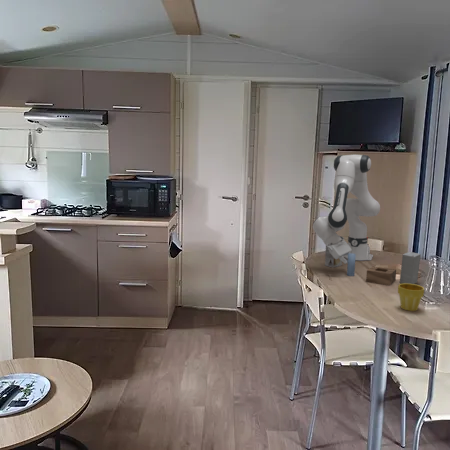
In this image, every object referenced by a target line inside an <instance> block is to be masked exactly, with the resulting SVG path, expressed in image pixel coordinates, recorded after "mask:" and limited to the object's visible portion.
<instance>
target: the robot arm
mask: <svg viewBox="0 0 450 450" xmlns="http://www.w3.org/2000/svg"><path fill="white" fill-rule="evenodd" d="M371 166H372V159H371V157H370V156H369V155H366V154H346V155H345V154H344V155H337V156H336V157H335V158H334V160H333V168H334V171H335V175H334V180H333V189H334V191H335V197H334V202H333V207H332V209H331V210H330V212H329V214H328V215H325V216H319V217H316V219H315V220H314V221H313V223H312V229H313V231H314V233H315V234H316V235H317V236H318V238H319V239H321V240H322V242H323V243H324V245H325V247H326V246H327V247H328V248H329V249H328V250H329V252H330V253H331V255H332V256H333V257H334V258H335V259H338V258H339V259H340V260H341V261H342V263H343V264H344V265H346V264H348V254H349V253H353V254H356V256H355V261H372V260H373V257H374V254H371V253H370V252H371V248H370V245H369V244H368V239H369V237H368V236H367V235H368V234H367V233H368V226H367V224H366V222H364V221H363V220H361V219H360V217H368V218H370V217H376V216H378V215H379V214H380V211H381V205H380V202H379V201H378V200H376V199H375V198H374V197H373V195H372V194H371V193H370V191H369V186H368V185H369V184H368V175H367V172H369V171H370V170H371ZM349 193H351V194H352V195H353V196H355V197H356V198H354V197H353V198H351V197H349V198H348V195H349ZM346 223H348V236H347V241H346V240H345V237H344V236H342V235H339V234H338V233H337V232H339V231H341V230H342V229H344V227H346Z"/></svg>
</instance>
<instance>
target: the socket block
mask: <svg viewBox="0 0 450 450" xmlns="http://www.w3.org/2000/svg"><path fill="white" fill-rule="evenodd" d="M396 277H397V269H395V268H388V267H381V266H372V267H370V268H368V269H367V270H366V278H365V279H366V280H365V282H366V283H373V284H376V285H377V284H378V285H385V286H388V287H389V286H391V285H392V284H394V283H395V281H396V280H397V278H396Z"/></svg>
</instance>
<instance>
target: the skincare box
mask: <svg viewBox="0 0 450 450" xmlns="http://www.w3.org/2000/svg"><path fill="white" fill-rule="evenodd" d="M421 256H422V255H421V253H417V252H413V251H408V252H405V253H403V254H402V258H401V265H400V276H399V283H400V284H403V283H408V284H417V283H418V280H419V271H420V264H421V263H420V262H421Z"/></svg>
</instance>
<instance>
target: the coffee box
mask: <svg viewBox="0 0 450 450" xmlns="http://www.w3.org/2000/svg"><path fill="white" fill-rule="evenodd" d="M328 249H329V248H328V247H327V246H326V245H325V259H324V266H326V267H330V268H337V267H340V266H343V261H341V260H340V259H339V258H338V259H335V258H334V257H333V256H332V255H331V253H330V252H329V250H328Z"/></svg>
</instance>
